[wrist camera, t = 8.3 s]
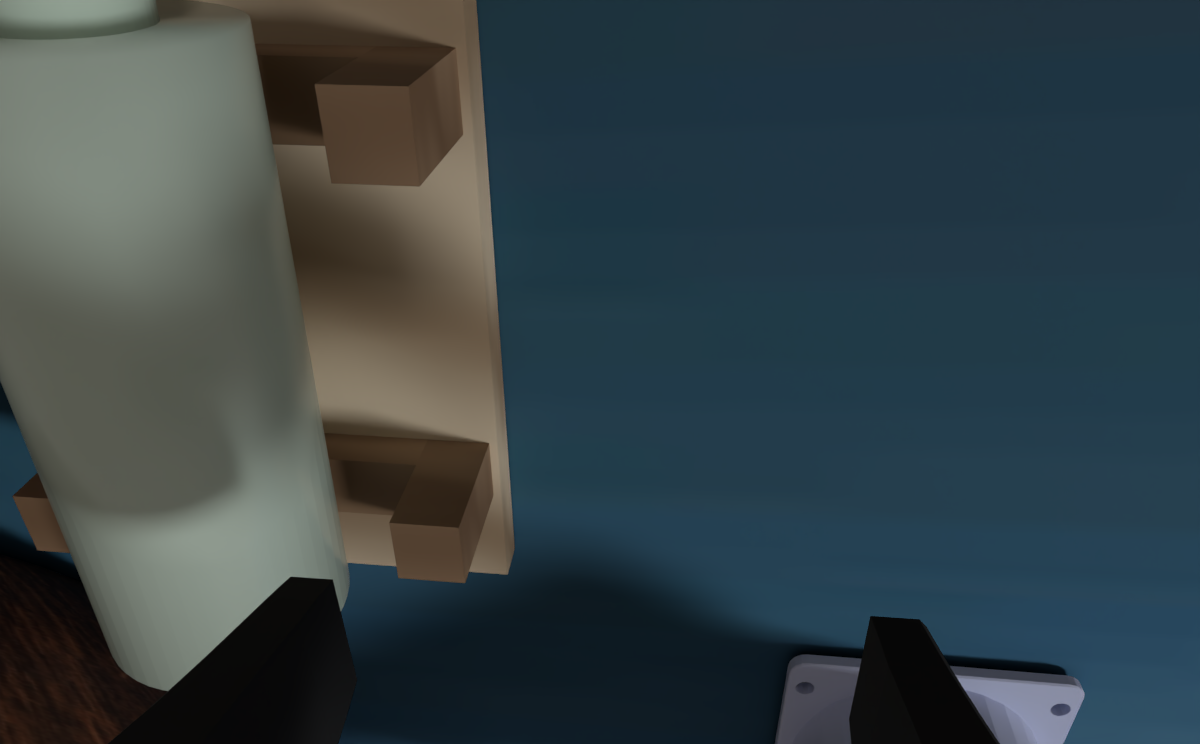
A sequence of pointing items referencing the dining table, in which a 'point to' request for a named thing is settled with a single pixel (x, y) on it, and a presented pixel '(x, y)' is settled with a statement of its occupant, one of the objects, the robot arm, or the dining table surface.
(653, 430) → the dining table surface
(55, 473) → the bottle
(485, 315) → the bottle rest
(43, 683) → the wooden bowl
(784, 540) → the dining table surface
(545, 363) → the dining table surface
